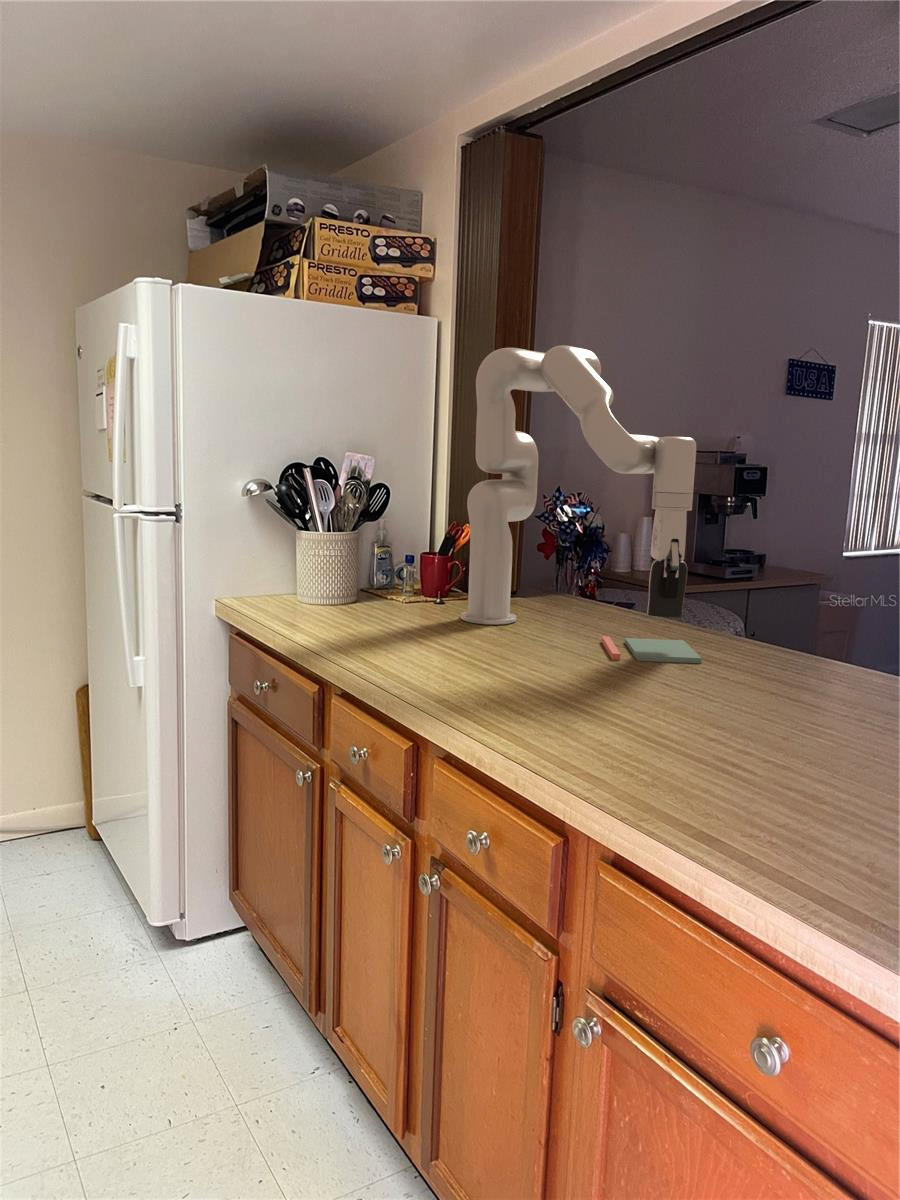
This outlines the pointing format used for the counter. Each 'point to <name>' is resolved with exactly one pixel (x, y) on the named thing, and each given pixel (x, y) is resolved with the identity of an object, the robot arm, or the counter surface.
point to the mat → (662, 650)
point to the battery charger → (656, 603)
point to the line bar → (610, 648)
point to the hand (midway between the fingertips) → (665, 595)
